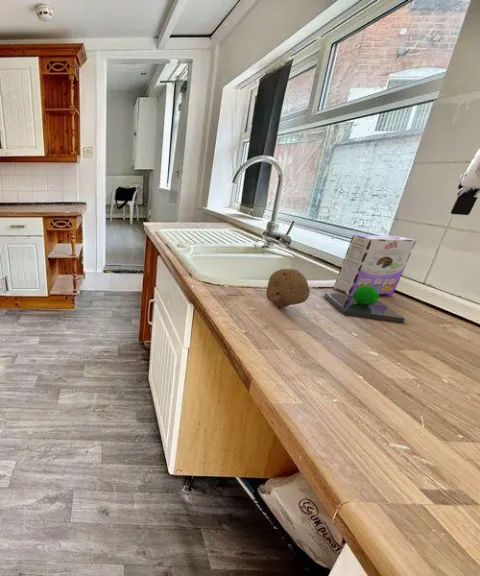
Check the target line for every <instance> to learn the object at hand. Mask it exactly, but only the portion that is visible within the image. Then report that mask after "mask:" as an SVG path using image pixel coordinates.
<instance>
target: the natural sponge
mask: <svg viewBox="0 0 480 576" xmlns="http://www.w3.org/2000/svg"><path fill="white" fill-rule="evenodd" d="M310 295H311V290H310V286H309V283H308V281H307V278H306V277H305V275H304V273H302V272H300V271H299V270H298V269H295V268H280V269H278V270H275V271H274V272H273V273H271V275H270V277H269V278H268V283H267V287H266V290H265V296H266V299H267V300H268V301H269V302H271V303H272V304H273V305H274V306H275V307H279V308H286V307H289V306H295V305H299V304H302V303H305V302H306V301H307V300H308V299H309V298H310Z"/></svg>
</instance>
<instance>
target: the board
mask: <svg viewBox="0 0 480 576" xmlns="http://www.w3.org/2000/svg"><path fill="white" fill-rule="evenodd" d="M324 297H325V298H326V299H327V300H328V301H329V302H330V303H331V304H332V305H333V306H334V307H335V308H336V309H338V311H339V312H341V313H342V314H343V315H344V316H350V317H358V318H365V319H372V320H379V321H380V320H381V321H387V322H394V323H401V324H403V323H405V320H406V318H405V317H404V316H403V315H401V314H399V313H398V312H396V311H395V310H393V309H392V308H391V307H389V306H388V305H386V304H384V303H383V302H382V301H380V300H379V299H378V301H377V302H376V303H375V304H372V305H368V306H364V305H360V304H358V303H357V302H356V301H355V300H354V298H353V295H347V294H341V293H333V292H325V293H324Z"/></svg>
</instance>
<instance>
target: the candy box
mask: <svg viewBox="0 0 480 576" xmlns="http://www.w3.org/2000/svg"><path fill="white" fill-rule="evenodd" d="M416 242H417V239H414V238H413V239H412V238H409V237H403V236H399V235H378V234H377V235H376V234H353V235H352V237H351V239H350V242H349V245H348V247H347V251H346V253H345V256H344V258H343V260H342V264H341V265H340V268H339V269H340V270H339V271H338V275H337V278H336V279H335V283H334V286H333V289H335V290H337V291H338V292H341V293H343V294H344V295H350V296H353V293H354V292H355V290H356V289H357V288H358V287H361V286H371V287H373V288H375V289H376V290H377V291H378V293H379V296H394V293H395V291H396V289H397V286H398V284H399V282H400V279H401V277H402V275H403V272H404V270H405V268H406V265H407V263H408V262H409V258H410V257H411V254H412V252H413V249H414V247H415V245H416Z"/></svg>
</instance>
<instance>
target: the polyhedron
mask: <svg viewBox="0 0 480 576" xmlns="http://www.w3.org/2000/svg"><path fill="white" fill-rule="evenodd" d="M352 296H353V298H354V300H355V301H356V302H357V303H358V304H360V305H364V306H368V305H372V304H375V303H376V302H377V301H378V300H379V299H380V295H379V293H378V291H377V290H376V289H375V288H373V287H371V286H361V287H358V288H357V289H356V290H355V292H354V293H353V295H352Z"/></svg>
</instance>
